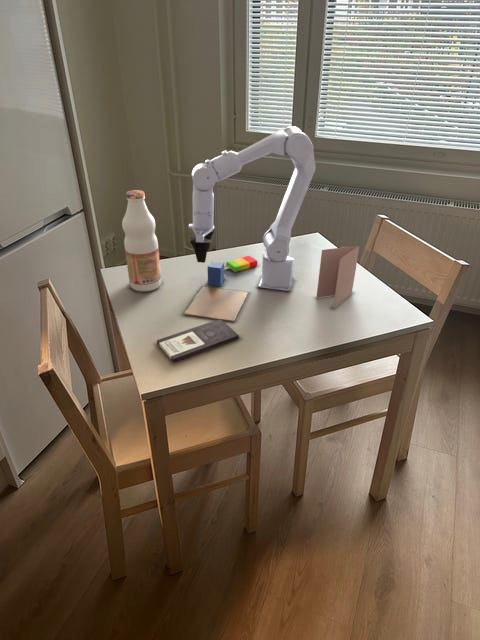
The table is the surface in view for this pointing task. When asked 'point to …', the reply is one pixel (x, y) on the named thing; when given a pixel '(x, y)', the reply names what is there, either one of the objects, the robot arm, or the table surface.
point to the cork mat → (217, 304)
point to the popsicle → (241, 263)
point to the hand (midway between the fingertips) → (203, 256)
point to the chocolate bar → (197, 340)
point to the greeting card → (337, 272)
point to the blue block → (215, 273)
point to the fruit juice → (141, 244)
